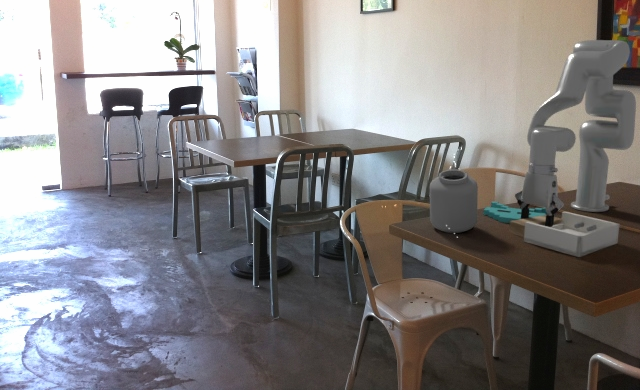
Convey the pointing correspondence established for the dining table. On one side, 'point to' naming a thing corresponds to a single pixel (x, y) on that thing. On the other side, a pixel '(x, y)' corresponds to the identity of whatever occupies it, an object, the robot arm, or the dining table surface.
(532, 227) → the carcass
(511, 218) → the alien figure
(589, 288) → the dining table surface
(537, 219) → the shelf board
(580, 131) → the robot arm
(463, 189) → the jar
